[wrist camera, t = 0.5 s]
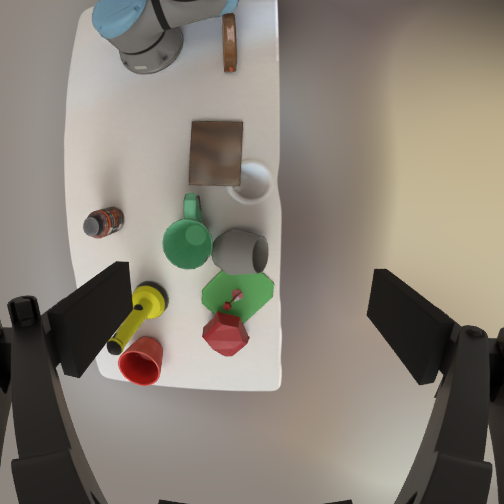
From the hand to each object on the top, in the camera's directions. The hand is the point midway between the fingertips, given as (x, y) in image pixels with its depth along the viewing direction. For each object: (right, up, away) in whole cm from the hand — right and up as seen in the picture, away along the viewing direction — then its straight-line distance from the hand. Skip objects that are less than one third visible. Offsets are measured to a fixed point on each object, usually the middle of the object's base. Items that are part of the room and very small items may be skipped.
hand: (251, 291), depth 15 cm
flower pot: (-27, -24, +58) cm, 68 cm away
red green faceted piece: (-4, -10, +55) cm, 56 cm away
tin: (-5, +48, +41) cm, 63 cm away
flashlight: (-24, -9, +55) cm, 61 cm away
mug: (-12, +8, +51) cm, 53 cm away
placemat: (-8, +23, +47) cm, 52 cm away
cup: (-7, +2, +49) cm, 50 cm away
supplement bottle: (-32, +10, +50) cm, 60 cm away
